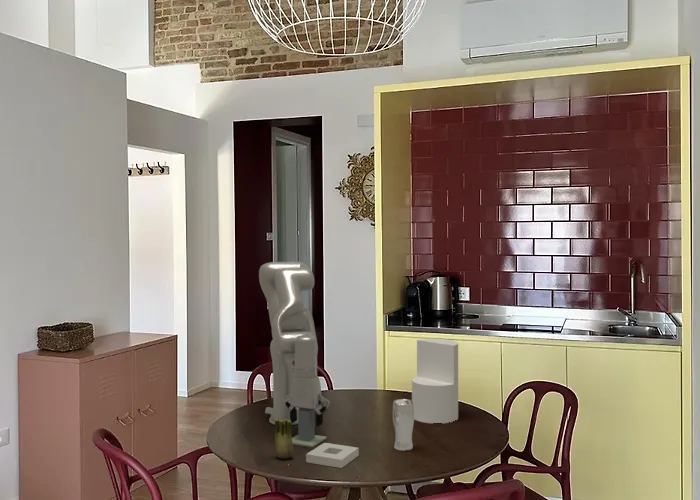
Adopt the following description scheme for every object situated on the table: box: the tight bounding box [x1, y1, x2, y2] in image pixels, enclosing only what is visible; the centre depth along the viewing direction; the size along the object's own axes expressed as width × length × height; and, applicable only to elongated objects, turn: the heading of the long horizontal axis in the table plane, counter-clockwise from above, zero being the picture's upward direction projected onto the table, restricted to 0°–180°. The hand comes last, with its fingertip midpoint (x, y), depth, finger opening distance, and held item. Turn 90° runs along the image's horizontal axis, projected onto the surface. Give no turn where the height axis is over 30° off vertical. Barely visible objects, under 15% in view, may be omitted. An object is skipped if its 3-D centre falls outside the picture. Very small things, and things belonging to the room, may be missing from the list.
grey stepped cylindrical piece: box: [411, 338, 459, 424], centre depth 252 cm, size 17×17×28 cm
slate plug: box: [297, 408, 316, 441], centre depth 224 cm, size 4×4×10 cm
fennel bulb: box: [274, 419, 294, 460], centre depth 208 cm, size 6×5×12 cm
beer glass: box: [392, 398, 415, 452], centre depth 217 cm, size 7×7×15 cm
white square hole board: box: [305, 442, 360, 469], centre depth 207 cm, size 12×12×2 cm
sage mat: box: [292, 434, 328, 448], centre depth 224 cm, size 10×10×1 cm
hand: (306, 423), depth 224 cm, fingers open, 9 cm apart
